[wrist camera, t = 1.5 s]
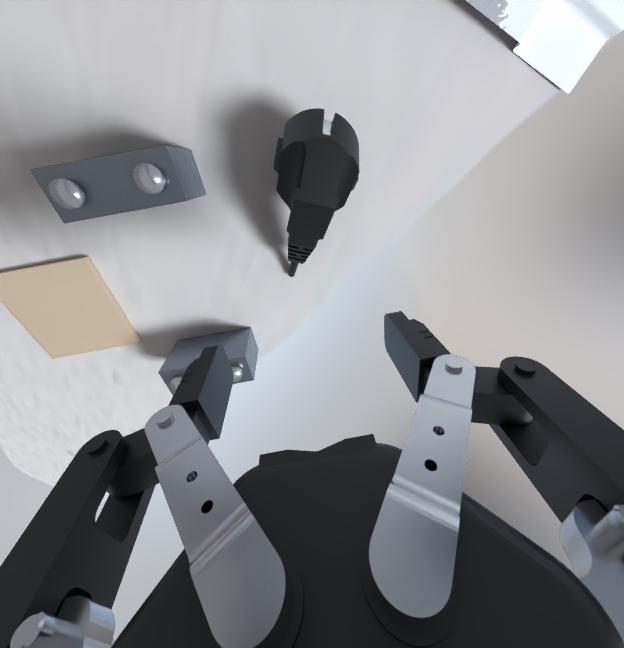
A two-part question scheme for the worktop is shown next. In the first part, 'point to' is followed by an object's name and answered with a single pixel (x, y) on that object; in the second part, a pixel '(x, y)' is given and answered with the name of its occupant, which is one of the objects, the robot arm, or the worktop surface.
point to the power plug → (314, 176)
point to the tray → (556, 32)
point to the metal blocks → (134, 194)
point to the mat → (66, 307)
